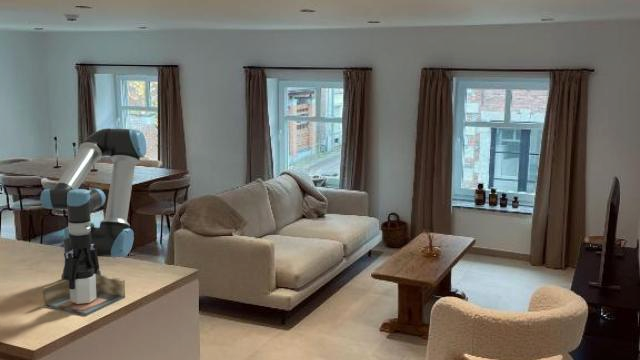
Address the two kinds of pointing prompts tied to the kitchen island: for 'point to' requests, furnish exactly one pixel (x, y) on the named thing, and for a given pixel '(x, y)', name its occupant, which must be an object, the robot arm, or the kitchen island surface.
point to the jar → (85, 285)
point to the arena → (106, 294)
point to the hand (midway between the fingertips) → (83, 293)
